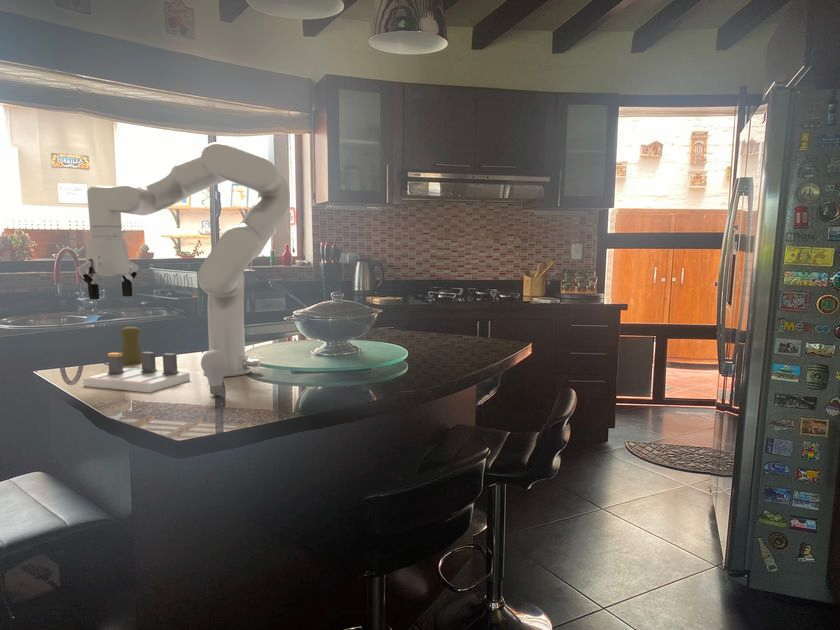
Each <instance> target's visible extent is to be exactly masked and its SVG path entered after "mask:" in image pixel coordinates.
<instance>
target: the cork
mask: <svg viewBox="0 0 840 630" xmlns="http://www.w3.org/2000/svg"><path fill="white" fill-rule="evenodd" d="M120 335H121V337H122V351H121V353H122V364H123V366H125V365H126V366H128V365H129V366H130V365H133V366H134V365H138V364H142V359H141V353H142V348H141V343H140V340H139V337H140V335H141V330H140V327H137V326H126V327H123V328H122V329H121V332H120Z"/></svg>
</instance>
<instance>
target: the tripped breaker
mask: <svg viewBox="0 0 840 630" xmlns="http://www.w3.org/2000/svg"><path fill="white" fill-rule="evenodd" d="M107 358H108V359H107V360H108V371H107V374H119V373H123V372H125V371H123V368H124V365H123V364H122V352H109V353H107Z"/></svg>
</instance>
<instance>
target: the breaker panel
mask: <svg viewBox="0 0 840 630" xmlns="http://www.w3.org/2000/svg"><path fill="white" fill-rule="evenodd" d="M156 370H157V371H155V372H151V373H141V372H140V371H142V368H139V367H138V368H137V367H136V368H135V367H123V371H125V372H123V373H119V374H107V372H108V371H107V372H103V373H98V374H94V375H91V376H87V377H82V385H83V387H89V386H90V387H92V388H101V389H110V388H111V389H110V390H122V391H132V392H142V393H152V392H157V391H159V390H162V389H166V388H169V387H172V386H176V385H178V384H183V383H186V382H188V381H190V380H191V379H190V378H191V377H190V376H191V375H190V372H184V371H179V373H175V374H172V375H165V374H162V373H164V371H163V370H161V369H160V370H159V369H156Z"/></svg>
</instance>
